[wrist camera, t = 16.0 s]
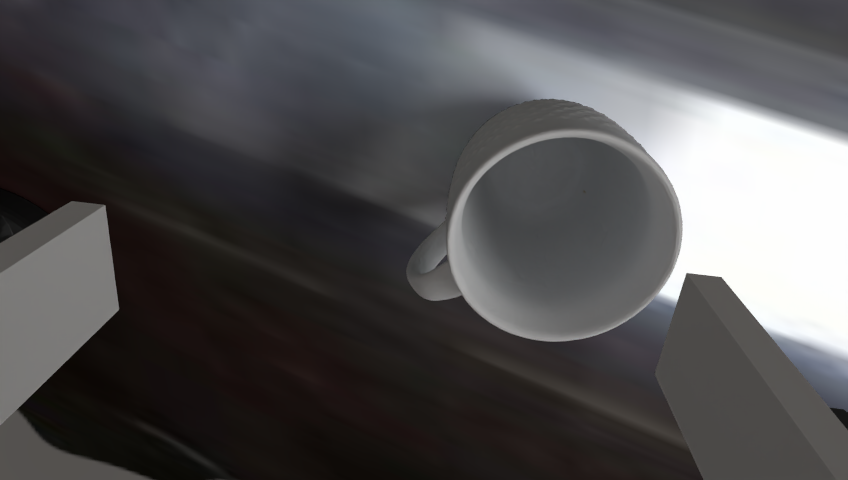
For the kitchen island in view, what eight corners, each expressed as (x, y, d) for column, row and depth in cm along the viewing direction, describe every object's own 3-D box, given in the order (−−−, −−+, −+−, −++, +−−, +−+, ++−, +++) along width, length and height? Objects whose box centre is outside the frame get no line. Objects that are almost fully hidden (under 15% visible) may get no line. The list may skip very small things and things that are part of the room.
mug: (464, 291, 44) (462, 411, 32) (372, 174, 41) (333, 258, 29) (649, 182, 40) (727, 272, 28) (563, 41, 36) (610, 75, 25)
